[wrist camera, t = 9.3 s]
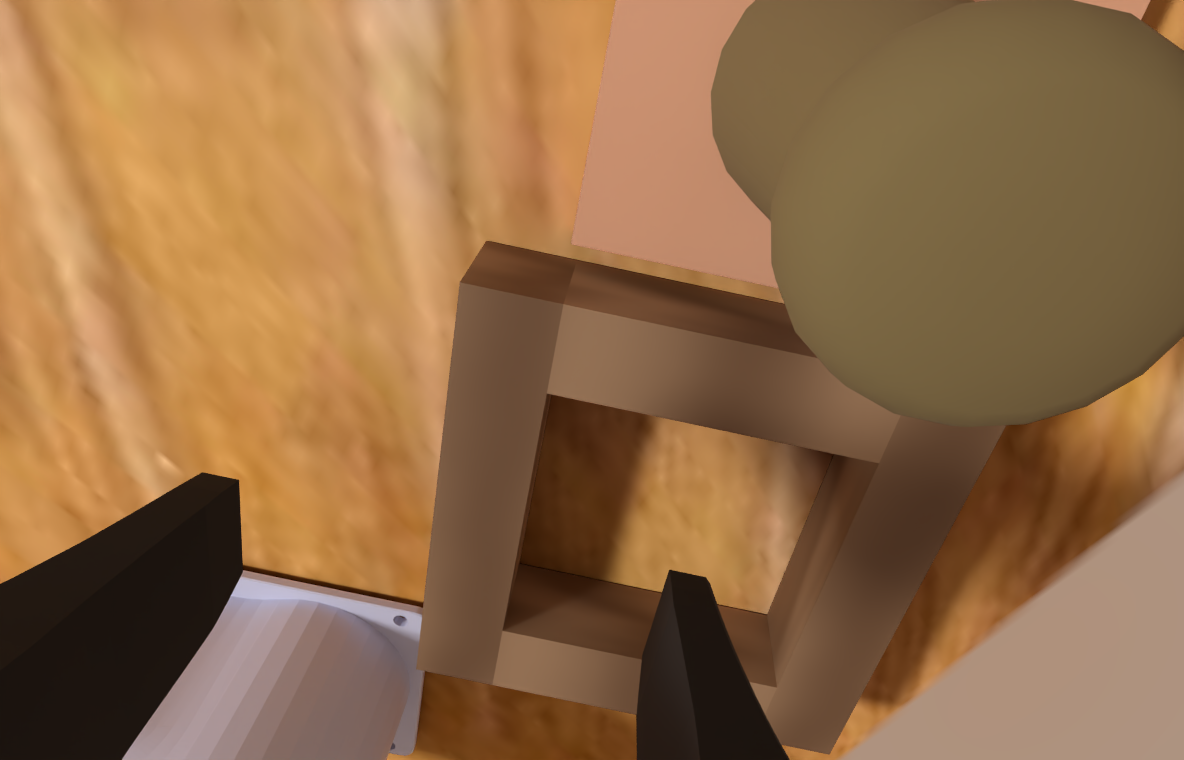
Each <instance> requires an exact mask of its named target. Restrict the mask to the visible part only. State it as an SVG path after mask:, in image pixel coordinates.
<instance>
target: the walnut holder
mask: <svg viewBox="0 0 1184 760" xmlns="http://www.w3.org/2000/svg"><path fill="white" fill-rule="evenodd" d="M551 395H557V396H561V397H566V398H571V399H576V400H580V401H585V402H590V403H595V404H599V405H604V406H609V407H614V408H618V409H623V410H628V411H633V412H637V413H642V414H647V415H652V416H656V417H661V418H666V419H671V420H675V421H680V422H685V423H690V424H694V425H699V426H704V427H709V428H713V429H718V430H723V431H728V432H732V433H737V434H742V435H747V436H751V437H756V438H761V439H766V440H770V441H775V442H780V443H785V444H789V445H794V446H799V447H804V448H808V449H813V450H818V451H822V452H827V453H832V454H834V456H833V458H832V461H831V463H830V465H829V468H828V470H827V473H826V475H825V477H824V480H823V482H822V485H821V487H820V489H819V492H818V494H817V497H816V499H815V501H814V504H813V506H812V509H811V511H810V513H809V516H808V518H807V521H806V523H805V525H804V528H803V530H802V533H801V535H800V537H799V540H798V542H797V545H796V547H795V549H794V552H793V554H792V557H791V559H790V561H789V564H788V566H787V569H786V571H785V573H784V576H783V578H782V581H781V583H780V585H779V588H778V590H777V593H776V595H775V597H774V600H773V602H772V605H771V607H770V609H769V612H768V614H767V615H764V614H759V613H754V612H749V611H744V610H740V609H735V608H730V607H725V606H720V605H718V608H719V611H720V614H721V616H722V619H723V621H724V624H725V627H726V629H727V632H728V634H729V637H730V639H731V641H732V644H733V646H734V649H735V651H736V653H737V656H738V658H739V660H740V663H741V665H742V667H743V669H744V671H745V673H746V676H747V678H748V680H749V682H750V684H751V686H752V689H753V691H754V693H755V695H756V697H757V699H758V701H759V703H760V705H761V707H762V709H763V711H764V713H765V715H766V717H767V719H768V721H769V723H770V725H771V727H772V729H773V730H774V732H775V734H776V736H777V738H778V740H779V742H780V744H781V745H786V746H790V747H795V748H800V749H805V750H810V751H815V752H820V753H824V754H830V752H831V751H832V749H833V747H834V745H835V743H836V741H837V739H838V738H839V736H840V734H841V732H842V730H843V728H844V726H845V724H846V723H847V721H848V719H849V717H850V715H851V713H852V711H853V710H854V708H855V706H856V704H857V702H858V700H859V698H860V697H861V695H862V693H863V691H864V689H865V687H866V685H867V684H868V682H869V680H870V678H871V676H872V674H873V672H874V671H875V669H876V667H877V665H878V663H879V661H880V659H881V657H882V656H883V654H884V652H885V650H886V648H887V646H888V644H889V643H890V641H891V639H892V637H893V635H894V633H895V631H896V630H897V628H898V626H899V624H900V622H901V620H902V618H903V617H904V615H905V613H906V611H907V609H908V607H909V605H910V604H911V602H912V600H913V598H914V596H915V594H916V592H917V590H918V589H919V587H920V585H921V583H922V581H923V579H924V577H925V576H926V574H927V572H928V570H929V568H930V566H931V564H932V563H933V561H934V559H935V557H936V555H937V553H938V551H939V550H940V548H941V546H942V544H943V542H944V540H945V538H946V537H947V535H948V533H949V531H950V529H951V527H952V525H953V524H954V522H955V520H956V518H957V516H958V514H959V512H960V510H961V509H962V507H963V505H964V503H965V501H966V499H967V497H968V496H969V494H970V492H971V490H972V488H973V486H974V484H975V483H976V481H977V479H978V477H979V475H980V473H981V471H982V470H983V468H984V466H985V464H986V462H987V460H988V458H989V457H990V455H991V453H992V451H993V449H994V447H995V445H996V443H997V442H998V440H999V438H1000V436H1001V434H1002V432H1003V430H1004V429H1005V427H1006V425H1000V426H979V427H959V426H949V425H944V424H939V423H935V422H930V421H926V420H921V419H917V418H912V417H907V416H903V415H898V414H894V413H892V412H890V411H888V410H887V409H885V408H883V407H881V406H880V405H878V404H876V403H874V402H873V401H871V400H869V399H867V398H865V397H864V396H862V395H860V394H858V393H857V392H855V391H853V390H851V389H850V388H848V387H846V386H845V385H844V384H843V383H841V382H840V381H839V380H838V379H837V378H836V377H835V376H834V375H832V374H831V373H830V372H829V370H828V369H827V368H826V367H825V366H824V365H823V363H822V362H821V361H820V360H819V359H818V358H817V357H816V355H815V354H814V353H813V352H812V351H811V350H810V348H809V347H808V346H807V345H806V344H805V343H804V342H803V340H802V339H801V338H800V337H799V336H798V335H797V334H796V332H795V330H794V327H793V325H792V322H791V319H790V317H789V314H788V311H787V309H786V306H785V304H781V303H776V302H771V301H767V300H762V299H757V298H752V297H748V296H743V295H738V294H734V293H729V292H724V291H720V290H715V289H710V288H705V287H701V286H696V285H691V284H687V283H682V282H677V281H673V280H668V279H663V278H658V277H654V276H649V275H644V274H640V273H635V272H630V271H626V270H621V269H616V268H611V267H607V266H602V265H597V264H593V263H588V262H583V261H579V260H574V259H569V258H564V257H560V256H555V255H550V254H546V253H541V252H536V251H532V250H527V249H522V248H517V247H513V246H508V245H503V244H499V243H494V242H489V241H486V242H485V244H484V245H483V247H482V249H481V250H480V252H479V253H478V255H477V256H476V258H475V260H474V261H473V263H472V264H471V266H470V267H469V269H468V271H467V272H466V274H465V275H464V277H463V278H462V280H461V281H460V286H459V295H458V304H457V313H456V322H455V330H454V339H453V348H452V357H451V366H450V375H449V383H448V392H447V401H446V410H445V419H444V427H443V436H442V445H441V454H440V463H439V472H438V480H437V489H436V498H435V507H434V516H433V524H432V533H431V542H430V551H429V560H428V569H427V577H426V586H425V595H424V604H423V613H422V622H421V630H420V639H419V648H418V657H417V666H416V669H417V670H422V671H427V672H432V673H437V674H441V675H446V676H451V677H456V678H461V679H466V680H470V681H475V682H480V683H485V684H490V685H495V686H500V687H504V688H509V689H514V690H519V691H524V692H529V693H533V694H538V695H543V696H548V697H553V698H558V699H563V700H567V701H572V702H577V703H582V704H587V705H592V706H597V707H601V708H606V709H611V710H616V711H621V712H626V713H630V714H635V715H636V714H637V703H638V692H639V682H640V672H641V663H642V654H643V651H644V648H645V645H646V642H647V639H648V635H649V632H650V629H651V626H652V623H653V620H654V617H655V613H656V610H657V607H658V604H659V601H660V598H661V595H662V593H658V592H653V591H648V590H643V589H639V588H634V587H629V586H624V585H619V584H615V583H610V582H605V581H600V580H595V579H591V578H586V577H581V576H576V575H571V574H567V573H562V572H557V571H552V570H547V569H543V568H538V567H533V566H528V565H523V564H519V563H520V558H521V553H522V547H523V542H524V537H525V532H526V526H527V521H528V516H529V511H530V505H531V500H532V495H533V490H534V484H535V479H536V474H537V469H538V463H539V458H540V453H541V448H542V442H543V437H544V432H545V426H546V421H547V416H548V411H549V405H550V400H551Z"/></svg>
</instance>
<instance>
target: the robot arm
mask: <svg viewBox="0 0 1184 760" xmlns="http://www.w3.org/2000/svg"><path fill="white" fill-rule="evenodd" d="M422 613H423V608H421V607H419V606H414V605H409V604H404V603H399V602H394V601H390V600H385V599H380V598H375V597H370V596H365V595H361V594H356V593H351V592H346V591H341V590H336V589H332V588H327V587H322V586H317V585H312V584H308V583H303V582H298V581H293V580H288V579H283V578H279V577H274V576H269V575H264V574H259V573H254V572H250V571H245V570H243V563H242V539H241V516H240V492H239V480H236V479H232V478H227V477H222V476H217V475H212V474H208V473H203V472H202V473H201V474H199V475H197V476H195V477H193V478H192V479H190V480H188V481H186V482H185V483H183V484H181V485H179V486H178V487H176V488H174V489H173V490H171V491H169V492H167V493H166V494H164V495H162V496H161V497H159V498H157V499H156V500H154V501H152V502H151V503H149V504H147V505H145V506H144V507H142V508H140V509H139V510H137V511H135V512H134V513H132V514H130V515H128V516H127V517H125V518H123V519H121V520H120V521H118V522H116V523H114V524H113V525H111V526H109V527H107V528H106V529H104V530H102V531H100V532H99V533H97V534H95V535H93V536H92V537H90V538H88V539H86V540H85V541H83V542H81V543H79V544H77V545H75V546H73V547H71V548H70V549H68V550H66V551H64V552H62V553H60V554H58V555H56V556H54V557H52V558H50V559H48V560H46V561H44V562H43V563H41V564H39V565H37V566H35V567H33V568H31V569H29V570H27V571H25V572H23V573H21V574H19V575H18V576H16V577H14V578H12V579H10V580H8V581H5V582H3V583H1V584H0V760H387V757H388V754H389V753H392V754H397V755H409V754H411V753H412V752H413V751H414V748H415V745H416V740H417V732H418V724H419V716H420V707H421V699H422V691H423V683H424V674H425V671H422V670H417V669H416V666H417V657H418V648H419V639H420V630H421V622H422ZM400 616H403V617H405V618H402V617H400ZM636 721H637V760H789V758H788V756H787V754H786V753H785V751H784V749H783V747H782V745H781V744H780V742H779V740H778V738H777V736H776V734H775V732H774V730H773V729H772V727H771V725H770V723H769V721H768V719H767V717H766V715H765V713H764V711H763V709H762V707H761V705H760V703H759V701H758V699H757V697H756V695H755V693H754V691H753V689H752V686H751V684H750V682H749V680H748V678H747V676H746V673H745V671H744V669H743V667H742V665H741V663H740V660H739V658H738V656H737V653H736V651H735V649H734V646H733V644H732V641H731V639H730V637H729V634H728V632H727V629H726V627H725V624H724V621H723V619H722V616H721V614H720V611H719V608H718V605H717V603H716V600H715V597H714V594H713V591H712V588H711V585H710V583H709V582H708V580H707V579H706V577H702V576H697V575H692V574H687V573H683V572H678V571H673V570H669V573H668V576H667V579H666V582H665V585H664V588H663V591H662V595H661V598H660V601H659V604H658V607H657V610H656V613H655V617H654V620H653V623H652V626H651V629H650V632H649V635H648V639H647V642H646V645H645V648H644V651H643V654H642V663H641V672H640V682H639V692H638V703H637V714H636Z"/></svg>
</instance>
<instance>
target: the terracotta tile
mask: <svg viewBox="0 0 1184 760" xmlns="http://www.w3.org/2000/svg"><path fill="white" fill-rule="evenodd" d="M754 1H755V0H616V2H615V8H614V13H613V18H612V24H611V29H610V35H609V40H608V46H607V51H606V57H605V62H604V67H603V73H602V78H601V84H600V89H599V95H598V100H597V105H596V111H595V116H594V122H593V127H592V133H591V138H590V143H589V149H588V154H587V160H586V165H585V171H584V176H583V181H582V187H581V192H580V198H579V203H578V209H577V214H576V219H575V225H574V230H573V236H572V241H571V244H573V245H577V246H582V247H587V248H591V249H596V250H601V251H605V252H610V253H615V254H620V255H624V256H629V257H634V258H638V259H643V260H648V261H652V262H657V263H662V264H667V265H671V266H676V267H681V268H685V269H690V270H695V271H699V272H704V273H709V274H713V275H718V276H723V277H728V278H732V279H737V280H742V281H746V282H751V283H756V284H760V285H765V286H770V287H775V288H779V287H778V285H777V282H776V279H775V276H774V272H773V268H772V264H771V221H770V220H769V219H768V218H767V217H766V216H765V215H764V214H763V213H762V212H761V211H760V210H759V209H758V208H757V206H756V205H755V204H754V203H753V202H752V201H751V200H750V199H749V198H748V196H747V195H746V194H745V193H744V192H743V190H742V189H741V188H740V187H739V186H738V184H737V183H736V182H735V181H734V180H733V178H732V177H731V176H730V175H729V174H728V172H727V171H726V168H725V166H724V163H723V161H722V158H721V155H720V153H719V150H718V147H717V145H716V142H715V140H714V137H713V132H712V110H711V90H712V86H713V82H714V78H715V74H716V70H717V66H718V62H719V59H720V55H721V51H722V48H723V47H724V45H725V43H726V42H727V40H728V38H729V37H730V35H731V33H732V32H733V30H734V28H735V27H736V25H737V23H738V22H739V20H740V18H741V17H742V15H743V13H744V12H745V10H746V9H747V8H748V7H749V6H750V5H751V4H752V3H753V2H754ZM973 1H975V2H979V1H987V0H973ZM1074 1H1079V2H1083V3H1088V4H1092V5H1096V6H1101V7H1105V8H1110V9H1114V10H1118V11H1123V12H1127V13H1132V14H1133V15H1134V16H1136V17H1137V18H1139V19H1140V20H1141V19H1142V17H1143V15H1144V13H1145V11H1146V8H1147V6H1148V4H1149V2H1150V0H1074Z"/></svg>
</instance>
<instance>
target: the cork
mask: <svg viewBox="0 0 1184 760" xmlns="http://www.w3.org/2000/svg"><path fill="white" fill-rule="evenodd" d="M711 110H712V132H713V137H714V140H715V142H716V145H717V147H718V150H719V153H720V155H721V158H722V161H723V163H724V166H725V168H726V171H727V172H728V174H729V175H730V176H731V177H732V178H733V180H734V181H735V182H736V183H737V184H738V186H739V187H740V188H741V189H742V190H743V192H744V193H745V194H746V195H747V196H748V198H749V199H750V200H751V201H752V202H753V203H754V204H755V205H756V206H757V208H758V209H759V210H760V211H761V212H762V213H763V214H764V215H765V216H766V217H767V218H768V219H769V220H770V221H771V264H772V268H773V272H774V276H775V279H776V282H777V285H778V287H779V290H780V293H781V295H782V298H783V301H784V303H785V306H786V309H787V311H788V314H789V317H790V319H791V322H792V325H793V327H794V330H795V332H796V334H797V335H798V336H799V337H800V338H801V339H802V340H803V342H804V343H805V344H806V345H807V346H808V347H809V348H810V350H811V351H812V352H813V353H814V354H815V355H816V357H817V358H818V359H819V360H820V361H821V362H822V363H823V365H824V366H825V367H826V368H827V369H828V370H829V372H830V373H831V374H832V375H834V376H835V377H836V378H837V379H838V380H839V381H840V382H841V383H843V384H844V385H845V386H846V387H848V388H850V389H851V390H853V391H855V392H857V393H858V394H860V395H862V396H864V397H865V398H867V399H869V400H871V401H873V402H874V403H876V404H878V405H880V406H881V407H883V408H885V409H887V410H888V411H890V412H892V413H894V414H898V415H903V416H907V417H912V418H917V419H921V420H926V421H930V422H935V423H939V424H944V425H949V426H959V427H979V426H1000V425H1020V424H1029V423H1032V422H1035V421H1039V420H1042V419H1045V418H1049V417H1052V416H1056V415H1059V414H1062V413H1066V412H1069V411H1072V410H1076V409H1079V408H1083V407H1086V406H1088V405H1089V404H1091V403H1093V402H1095V401H1097V400H1098V399H1100V398H1102V397H1104V396H1105V395H1107V394H1109V393H1111V392H1112V391H1114V390H1116V389H1118V388H1120V387H1121V386H1123V385H1125V384H1127V383H1128V382H1130V381H1132V380H1134V379H1135V378H1137V377H1139V376H1141V375H1142V374H1144V373H1145V372H1146V371H1147V370H1148V369H1149V368H1150V367H1151V366H1152V365H1153V364H1154V363H1155V362H1157V361H1158V360H1159V359H1160V358H1161V357H1162V356H1163V355H1164V354H1165V353H1166V352H1167V351H1168V350H1170V349H1171V348H1172V347H1173V346H1174V345H1175V344H1176V343H1177V342H1178V341H1179V340H1180V339H1181V338H1182V337H1184V51H1183V50H1182V49H1180V48H1179V47H1178V46H1176V45H1175V44H1173V43H1172V42H1171V41H1169V40H1168V39H1167V38H1165V37H1164V36H1162V35H1161V34H1160V33H1158V32H1157V31H1155V30H1154V29H1153V28H1151V27H1150V26H1148V25H1147V24H1146V23H1144V22H1143V21H1141V20H1140V19H1139V18H1137V17H1136V16H1134V15H1133V14H1132V13H1127V12H1123V11H1118V10H1114V9H1110V8H1105V7H1101V6H1096V5H1092V4H1088V3H1083V2H1079V1H1074V0H987V1H979V2H975V1H973V0H755V1H754V2H753V3H752V4H751V5H750V6H749V7H748V8H747V9H746V10H745V12H744V13H743V15H742V17H741V18H740V20H739V22H738V23H737V25H736V27H735V28H734V30H733V32H732V33H731V35H730V37H729V38H728V40H727V42H726V43H725V45H724V47H723V48H722V51H721V55H720V59H719V62H718V66H717V70H716V74H715V78H714V82H713V86H712V90H711Z"/></svg>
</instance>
